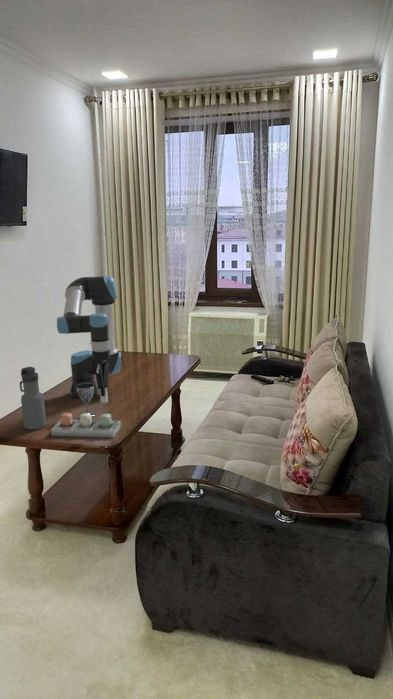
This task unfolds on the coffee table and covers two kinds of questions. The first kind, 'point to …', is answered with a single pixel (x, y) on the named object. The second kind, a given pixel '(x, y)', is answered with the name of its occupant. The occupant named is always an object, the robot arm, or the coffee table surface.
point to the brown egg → (66, 420)
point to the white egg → (86, 420)
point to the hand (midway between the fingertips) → (104, 402)
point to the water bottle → (32, 400)
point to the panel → (86, 429)
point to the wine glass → (86, 394)
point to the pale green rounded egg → (105, 421)
